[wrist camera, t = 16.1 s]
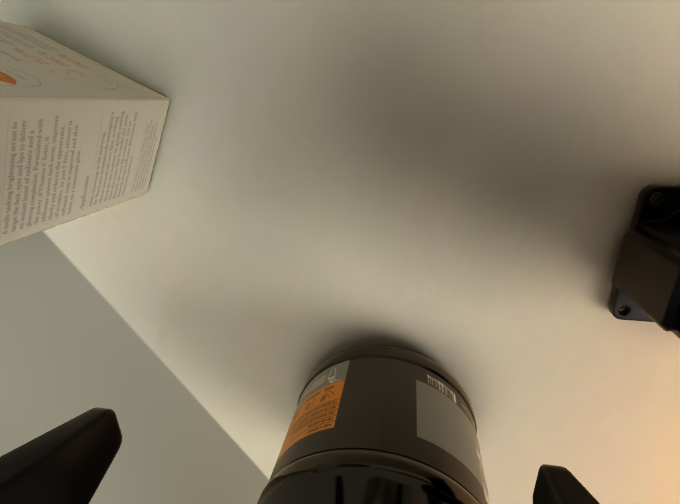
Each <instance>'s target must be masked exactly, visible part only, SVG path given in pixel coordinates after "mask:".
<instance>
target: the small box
mask: <svg viewBox="0 0 680 504" xmlns="http://www.w3.org/2000/svg"><path fill="white" fill-rule="evenodd" d="M169 102H170V100H169V99H168V98H167V97H165V96H163V95H161V94H159V93H157V92H155V91H153V90H151V89H149V88H147V87H145V86H143V85H141V84H139V83H137V82H135V81H133V80H131V79H129V78H127V77H125V76H123V75H121V74H119V73H117V72H115V71H113V70H111V69H109V68H107V67H105V66H103V65H101V64H99V63H97V62H95V61H93V60H91V59H89V58H88V57H86V56H84V55H82V54H80V53H78V52H76V51H74V50H72V49H70V48H68V47H66V46H63V45H62V44H60V43H58V42H56V41H54V40H52V39H50V38H48V37H46V36H44V35H42V34H40V33H38V32H36V31H35V30H33V29H31V28H29V27H25V26H20V25H16V24H11V23H6V22H1V21H0V246H1V245H4V244H7V243H10V242H12V241H15V240H18V239H21V238H24V237H26V236H29V235H32V234H35V233H37V232H40V231H43V230H46V229H49V228H52V227H55V226H57V225H60V224H63V223H66V222H68V221H71V220H74V219H77V218H79V217H82V216H85V215H88V214H91V213H94V212H96V211H99V210H102V209H105V208H108V207H110V206H113V205H116V204H119V203H121V202H124V201H127V200H130V199H133V198H135V197H138V196H141V195H144V194H146V193H147V190H148V186H149V182H150V178H151V174H152V170H153V166H154V162H155V158H156V154H157V150H158V146H159V142H160V138H161V134H162V130H163V126H164V122H165V118H166V114H167V110H168V106H169Z"/></svg>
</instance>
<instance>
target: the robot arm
mask: <svg viewBox="0 0 680 504" xmlns="http://www.w3.org/2000/svg"><path fill="white" fill-rule="evenodd" d="M656 192H658V195H659V196H658V198H657V199H656V200H654V201H650V198H651V196H652V195H653V194H654V193H656ZM612 282H613V284H614V288H613V292H612V295H611V299H610V303H609V311H610V312H611V314H612V315H613V316H614V317H616V318H617V319H621V320H635V321H649V322H656V323H657V324H658V325H659V326H660V327H661V328H662V329H663V330H665V331H671V332H673V333H674V334H675V335H676V336H678V337H679V338H680V185H660V184H655V185H649V186H647V187H645V188H644V189H643V190H642V191H641V193H640V195H639V198H638V201H637V205H636V208H635V212H634V216H633V219H632V223H631V227H630V230H629V231H628V232H627V233H626V234H625V235H624V239H623V242H622V246H621V250H620V253H619V257H618V261H617V264H616V268H615V272H614V275H613V279H612ZM622 306H626V307H625V309H624V310H622V311H618V309H619V308H620V307H622ZM121 442H122V434H121V430H120V427H119V424H118V420H117V417H116V414H115V412H114V411H113V410H111V409H105V408H93V409H91V410H89V411H87V412H85V413H83V414H81V415H79V416H77V417H76V418H74V419H72V420H70V421H68V422H66V423H64V424H62V425H60V426H58V427H56V428H54V429H52V430H51V431H49V432H47V433H45V434H43V435H41V436H39V437H37V438H35V439H34V440H31V441H30V442H28V443H26V444H24V445H22V446H20V447H18V448H16V449H14V450H12V451H11V452H9V453H7V454H5V455H3V456H1V457H0V504H89V502H90V500H91V498H92V497H93V495H94V493H95V491H96V490H97V488H98V486H99V484H100V482H101V480H102V479H103V477H104V475H105V473H106V472H107V470H108V468H109V466H110V464H111V463H112V461H113V459H114V457H115V455H116V454H117V452H118V450H119V448H120V445H121ZM533 504H600V503H599V502H598V501H597V500H596V499H595V498H594V497H593V496H592V495H591V494H590V493H589V492H588V491H587V490H586V488H585V487H584V486H583V485H582V484H581V483H580V482H579V481H578V480H577V479H576V478H575V477H574V476H573V475H572V473H571V472H570V471H569V470H567V469H566V468H564V467H561V466H554V465H546V464H545V465H542V466H541V467H540V469H539V472H538V476H537V480H536V484H535V488H534V493H533Z"/></svg>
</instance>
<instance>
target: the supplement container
mask: <svg viewBox="0 0 680 504" xmlns="http://www.w3.org/2000/svg"><path fill="white" fill-rule="evenodd" d="M257 504H490V501H489V496H488V490H487V485H486V480H485V475H484V470H483V465H482V459H481V454H480V449H479V444H478V439H477V426H476V420H475V415H474V412H473V409H472V406H471V403H470V401H469V399H468V397H467V395H466V393H465V392H464V390H463V389H462V387H461V386H460V384H459V383H458V382H457V381H456V379H455V378H454V377H453V376H452V375H451V374H450V373H449V372H447V371H446V370H445V369H444V368H443V367H441V366H440V365H438V364H437V363H435V362H434V361H432V360H431V359H429V358H427V357H425V356H423V355H420V354H418V353H416V352H413V351H410V350H406V349H402V348H398V347H392V346H380V345H375V346H362V347H357V348H352V349H349V350H346V351H343V352H341V353H338V354H336V355H334V356H333V357H331V358H329V359H328V360H326V361H325V362H323V363H322V364H321V365H320V366H319V367H318V368H317V369H316V370H315V371H314V372H313V373H312V374H311V375H310V377H309V378H308V380H307V381H306V383H305V385H304V387H303V389H302V391H301V394H300V397H299V400H298V404H297V408H296V411H295V414H294V416H293V419H292V422H291V424H290V427H289V430H288V432H287V435H286V438H285V440H284V443H283V446H282V448H281V451H280V454H279V456H278V459H277V462H276V464H275V467H274V470H273V472H272V475H271V478H270V480H269V483H268V484H267V486H266V487H265V489H264V490H263V492H262V494H261V497H260V499H259V501H258V503H257Z"/></svg>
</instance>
